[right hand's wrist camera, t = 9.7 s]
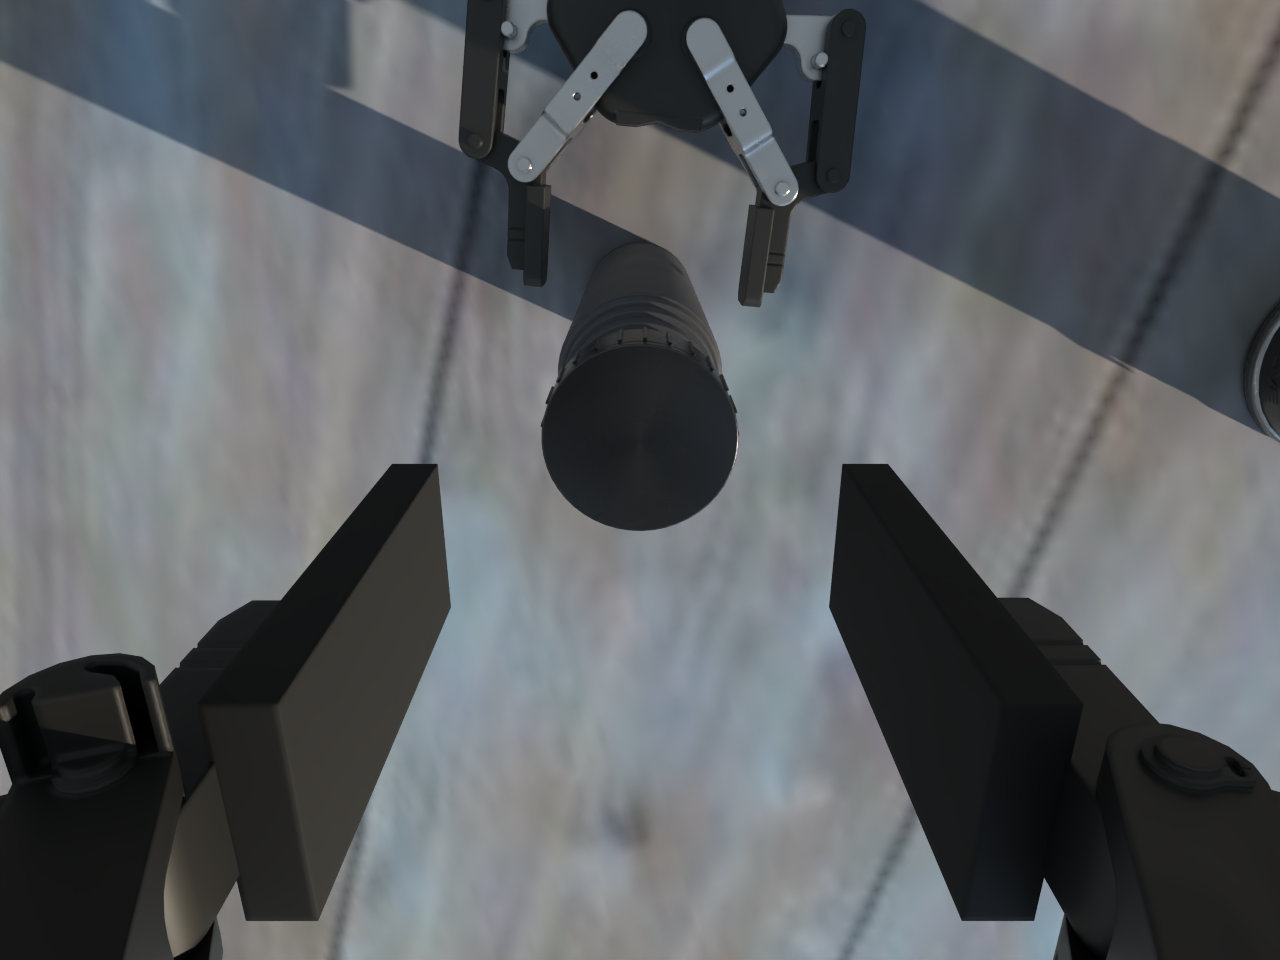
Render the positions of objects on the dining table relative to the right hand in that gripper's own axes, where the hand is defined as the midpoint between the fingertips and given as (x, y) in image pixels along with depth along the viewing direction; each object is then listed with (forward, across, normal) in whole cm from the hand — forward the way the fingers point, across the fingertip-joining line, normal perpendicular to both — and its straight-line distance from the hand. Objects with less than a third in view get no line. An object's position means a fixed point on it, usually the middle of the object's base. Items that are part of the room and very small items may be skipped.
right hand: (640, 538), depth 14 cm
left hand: (+21, 0, +1) cm, 21 cm away
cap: (+6, 0, 0) cm, 6 cm away
